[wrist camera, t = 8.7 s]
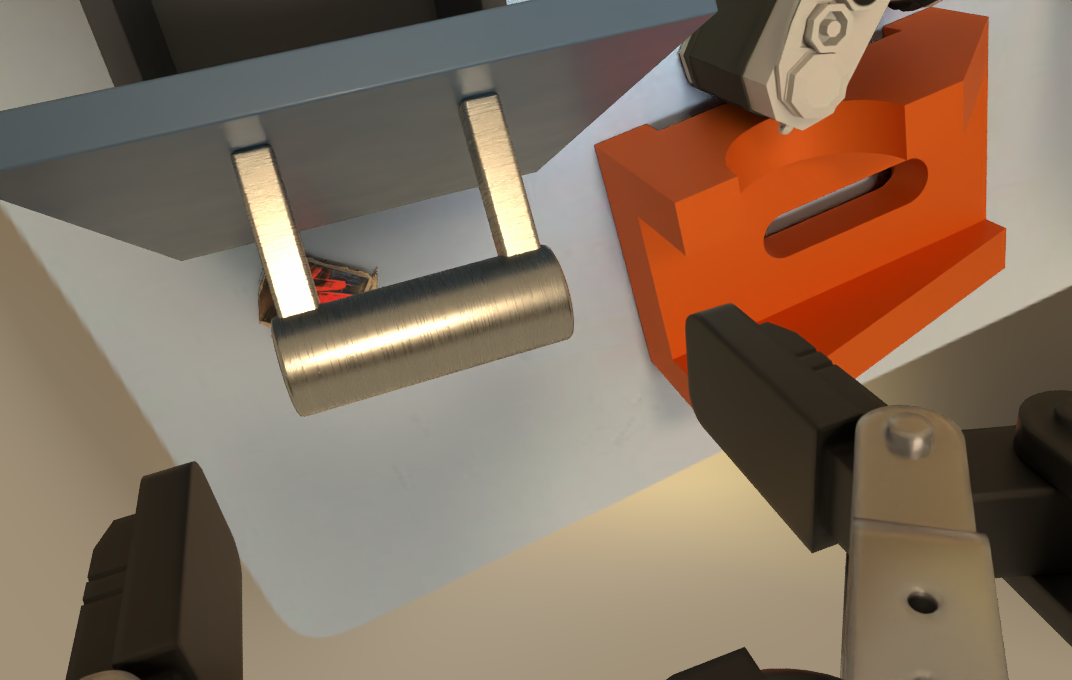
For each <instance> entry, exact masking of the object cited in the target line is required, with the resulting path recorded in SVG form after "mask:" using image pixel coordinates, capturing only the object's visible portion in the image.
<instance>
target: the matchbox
mask: <svg viewBox="0 0 1072 680" xmlns="http://www.w3.org/2000/svg"><path fill="white" fill-rule="evenodd" d="M307 261H308V264H309V268H310V271H311V274H312V278H313V281H314V284H315V288H316V291H317V295H318V298H319V301H320V304H323V303H326V302H330V301H334V300H338V299H341V298H345V297H349V296H352V295H356V294H360V293H364V292H367V291H368V288H370V287H371V289H370V290H369V291H371V290H375V289H377V273H376V275H375V273H373V274H374V275H375V276H374V275H372V277H371V276H369V274H368V273H364V271H358V270H356V271H354V270H349V268H348V267H342V266H341V267H337V266H334V265H329V264H325V263H323V261H324V260H322V259H321V261H322V262H319V261H317V260H314V259H313V258H307ZM325 261H326V260H325ZM376 268H377V267H376ZM262 270H263V269H262ZM375 270H376V269H375ZM375 270H374V272H377V271H375ZM261 274H262V273H261ZM264 274H265V273H264ZM259 281H260V280H259ZM258 300H259V301H258V302H259V324H263V325H266V326H268V327H271V320H272V318H274V317H275V316H278V315H277V311H276V308H275V305H274V301H273V298H272V295H271V291H270V288H269V285H268V281H267V278H266V275H265V276H264V277H263V282H262V283H261V286H260V292H259V293H258ZM271 336H272V335H271ZM272 338H273V337H272Z"/></svg>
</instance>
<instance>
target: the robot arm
mask: <svg viewBox="0 0 1072 680" xmlns="http://www.w3.org/2000/svg"><path fill="white" fill-rule="evenodd" d="M685 335H686V353H687V370H688V387H689V396H690V400H691V404H692V407H693V410H694V412H695V415H696V417H697V419H698V421H699V422H700V424H701V425H702V426H703V428H704V429H705V430H706V431H707V432H708V433H709V435H710V436H711V437H712V438H713V439H714V440H715V442H716V443H717V444H718V445H719V446H720V447H721V449H722V450H723V451H724V452H725V453H726V454H727V455H728V457H729V458H730V459H731V460H732V461H733V462H734V464H735V465H736V466H737V467H738V468H739V469H740V471H741V472H742V473H743V474H744V475H745V476H746V477H747V479H748V480H749V481H750V482H751V483H752V484H753V485H754V487H755V488H756V489H757V490H758V491H759V492H760V494H761V495H762V496H763V497H764V498H765V499H766V501H767V502H768V503H769V504H770V505H771V506H772V508H773V509H774V510H775V511H776V512H777V513H778V515H779V516H780V517H781V518H782V519H783V520H784V521H785V523H786V524H787V525H788V526H789V527H790V528H791V530H792V531H793V532H794V533H795V534H796V535H797V537H798V538H799V539H800V540H801V541H802V542H803V543H804V545H805V546H806V547H807V548H808V549H809V550H810V551H811V553H814V552H817V551H819V550H822V549H825V548H827V547H830V546H833V545H836V544H839V545H840V546H841V547H842V548H843V549H844V550H845V551H846V552H847V553H846V566H845V587H844V608H843V629H842V650H841V671H840V678H838V677H834V676H831V675H828V674H823V673H818V672H813V671H808V670H798V669H763V670H760V669H759V667H758V666H757V664H756V663H755V661H754V660H753V658H752V657H751V655H750V654H749V652H748V651H747V649H746V648H745V647H743V648H741V649H738V650H736V651H733V652H731V653H728V654H726V655H723V656H720V657H718V658H715V659H712V660H710V661H707V662H705V663H702V664H700V665H697V666H694V667H692V668H689V669H687V670H684V671H682V672H679V673H676V674H674V675H672V676H671V677H669V678H668V679H667V680H1009V678H1008V671H1007V663H1006V656H1005V649H1004V642H1003V636H1002V628H1001V620H1000V614H999V606H998V599H997V592H996V585H995V578H1001V577H1002V578H1003V579H1004V580H1005V581H1006V582H1007V583H1008V584H1009V585H1010V586H1011V587H1012V588H1013V589H1014V590H1015V591H1016V592H1017V593H1018V594H1019V595H1020V596H1021V597H1022V598H1023V599H1024V600H1025V601H1026V602H1027V603H1028V604H1029V605H1030V606H1031V607H1032V608H1033V609H1034V610H1035V611H1036V612H1037V613H1038V614H1039V615H1040V616H1041V617H1042V618H1043V619H1044V620H1045V621H1046V622H1047V623H1048V624H1049V625H1050V626H1051V627H1052V628H1053V629H1054V630H1055V631H1056V632H1058V634H1060V636H1061V637H1063V639H1064V640H1065V641H1066V642H1067V643H1069V644H1070V645H1071V646H1072V391H1065V390H1063V391H1062V390H1061V391H1046V392H1042V393H1038V394H1036V395H1033V396H1031V397H1029V398H1027V399H1026V400H1025V401H1024V402H1023V403H1022V404H1021V406H1020V408H1019V413H1018V418H1017V423H1016V425H1015V426H1003V427H993V428H980V429H969V430H961V429H960V428H959V427H958V426H957V425H956V424H955V423H954V422H953V421H952V420H950V419H948V418H947V417H945V416H944V415H942V414H940V413H938V412H935V411H933V410H929V409H926V408H922V407H918V406H910V405H891V406H888V405H887V404H885V403H884V402H883V401H882V400H881V399H879V398H878V397H877V396H875V395H874V394H873V393H872V392H870V391H869V390H868V389H867V388H865V387H864V386H863V385H862V384H860V383H859V382H858V381H857V380H855V379H854V378H853V377H852V376H850V375H849V374H848V373H847V372H845V371H844V370H843V369H842V368H840V367H839V366H838V365H837V364H835V365H833V363H832V360H830V359H829V358H828V357H827V356H825V355H824V354H823V353H822V352H820V351H819V352H817V351H816V348H815V347H814V346H813V345H811V344H810V343H809V342H808V341H806V340H805V339H804V338H803V337H801V336H800V335H799V334H798V333H796V332H794V331H791V330H789V329H786V328H783V327H781V326H778V325H775V324H773V323H770V322H765V323H762V324H757V323H756V322H755V321H754V320H753V319H751V318H750V317H749V316H748V315H747V314H745V313H744V312H743V311H742V310H741V309H740V308H738V307H737V306H736V305H734V304H732V303H727V304H724V305H721V306H717V307H714V308H711V309H707V310H704V311H701V312H697V313H694V314H691V315H689V316H688V317H687V319H686V323H685ZM88 580H89V582H87V583H86V587H85V591H84V596H83V602H84V605H83V606H81V610H80V615H79V619H78V624H77V629H76V633H75V638H74V643H73V647H72V652H71V657H70V662H69V666H68V671H67V675H66V680H243V657H242V656H243V654H242V653H243V652H242V572H241V565H240V559H239V555H238V551H237V547H236V544H235V541H234V538H233V536H232V533H231V531H230V529H229V527H228V525H227V523H226V520H225V518H224V516H223V514H222V512H221V510H220V507H219V505H218V503H217V501H216V499H215V496H214V494H213V492H212V490H211V488H210V486H209V483H208V481H207V479H206V477H205V475H204V473H203V471H202V469H201V467H200V466H199V464H198V463H197V462H195V461H193V462H190V463H186V464H183V465H179V466H176V467H173V468H169V469H166V470H163V471H159V472H156V473H153V474H149V475H146V476H143V478H142V479H141V483H140V489H139V495H138V501H137V508H136V514H134V515H130V516H126V517H123V518H120V519H117V520H114V521H113V522H112V524H111V525H110V527H109V528H108V529H107V531H106V532H105V534H104V535H103V536H102V538H101V539H100V541H99V542H98V544H97V545H96V546H95V548H94V550H93V554H92V559H91V563H90V568H89V573H88Z"/></svg>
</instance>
